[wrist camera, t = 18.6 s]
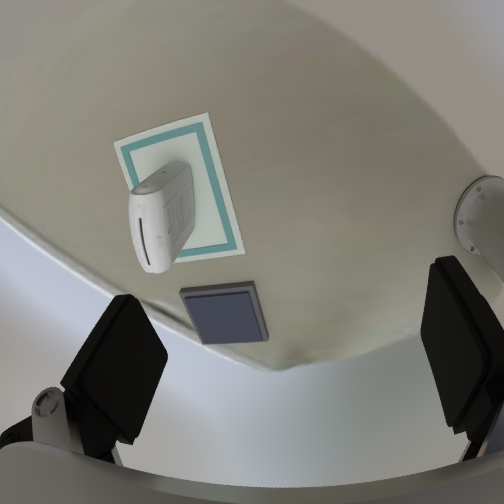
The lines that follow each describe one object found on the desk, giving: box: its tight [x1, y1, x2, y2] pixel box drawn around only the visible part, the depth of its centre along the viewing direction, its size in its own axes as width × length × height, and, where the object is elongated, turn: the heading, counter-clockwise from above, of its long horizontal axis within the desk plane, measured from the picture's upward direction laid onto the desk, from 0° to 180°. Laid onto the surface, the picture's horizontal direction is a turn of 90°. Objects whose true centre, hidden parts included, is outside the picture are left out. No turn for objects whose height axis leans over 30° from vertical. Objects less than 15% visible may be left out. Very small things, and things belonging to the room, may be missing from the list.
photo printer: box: [129, 161, 195, 274], centre depth 35 cm, size 10×4×12 cm, turn 0°
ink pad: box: [179, 281, 269, 345], centre depth 50 cm, size 12×12×2 cm
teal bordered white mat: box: [113, 112, 246, 263], centre depth 41 cm, size 14×20×1 cm
